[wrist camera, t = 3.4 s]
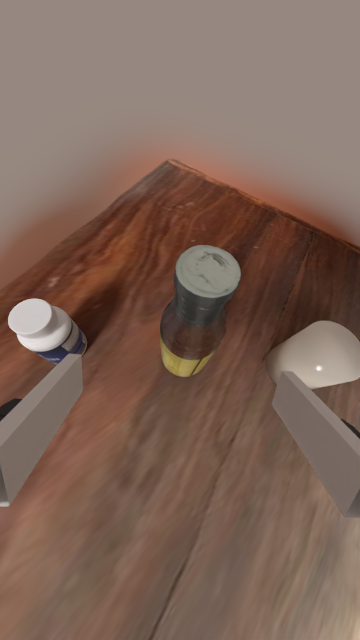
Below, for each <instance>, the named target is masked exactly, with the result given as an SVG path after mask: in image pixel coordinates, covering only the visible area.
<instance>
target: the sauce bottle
mask: <svg viewBox="0 0 360 640" xmlns="http://www.w3.org/2000/svg"><path fill="white" fill-rule="evenodd" d="M240 278H241V271H240V267H239V265H238V262H237V261H236V260H235V258H234V257H233V256H232V255H231V254H230V253H228V252H226V251H224V250H222V249H220V248H217V247H213V246H209V245H198V246H194V247H191V248H189V249H188V250H186V251H185V252H184V253H182V254H181V255H180V257H179V258H178V260H177V263H176V266H175V273H174V284H175V288H176V293H175V296H174V299H173V300H172V301H171V302H170V303H169V304H168V305H167V307H166V308H165V310H164V312H163V314H162V318H161V324H160V340H161V352H162V360H163V363H164V365H165V367H166V368H167V369H168V370H169V371H170V372H171V373H172V374H173V375H175V376H180V377H190V376H193V375H194V374H196V373H198V372H199V371H200V370H201V369H202V368H203V367H204V365H205V364H206V363H207V361H208V360H209V358H210V357H211V356H212V354H213V353H214V351H215V350H216V349H217V347H218V346H219V344H220V341H221V340H222V338H223V337H224V334H225V331H226V315H227V311H226V309H225V307H224V306H225V304H226V302H227V301H228V300H230V299H231V298H232V297H233V295H234V294H235V292H236V290H237V287H238V285H239V283H240Z"/></svg>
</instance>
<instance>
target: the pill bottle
mask: <svg viewBox="0 0 360 640" xmlns="http://www.w3.org/2000/svg"><path fill="white" fill-rule="evenodd" d="M8 324H9V326H10V328H11V329H12V330H13V331H14V332H16V333H17V337H18V339H19V341H20V343H21V344H22V345H23V346H25V347H26V348H27V349H29V350H31V351H33V352H35V353H36V354H38V355H40V356H42V357H43V358H45V359H47V360H49V361H51V362H53V363H55V364H59V363H60V362H61V361H62V360H63V359H64V358H65V357H66V356H67V355H68V354H80V355H81V356H82V355H83V354H84V352H85V350H86V347H87V340H86V337H85V335H84V334H83V332H82V331H81V330H80V329H79V327H78V326H77V325H76V324H75V323H74V321H73V320H72V319H71V318H70V317H69V315H68V314H67V313H66V312H65V311H63V310H62V309H60V308H58V307H55V306H51V305H50V304H49V303H47V302H46V301H44V300H41V299H28V300H25V301H23V302H21V303H19V304H18V305H16V306H15V307H14V308H13V309H12V311H11V312H10V314H9V317H8Z"/></svg>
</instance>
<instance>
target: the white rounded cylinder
mask: <svg viewBox="0 0 360 640" xmlns="http://www.w3.org/2000/svg"><path fill="white" fill-rule="evenodd" d="M266 367H267V371H268V374H269V376H270V378H271V379H272V380H273V382H274V383H275V384H276V385H277V384H278V381H279V378H280V374H281V371H293V372H294V373H295V374H296V375H297V376H298V377H299V378H300V379H301V380H302V381H303V382H304V383H305V385H306V386H307V387H308V388H309V389H310V390H311V389H316V388H320V387H325V386H330V385H335V384H340V383H345V382H350V381H353V380H356V379H358V378H359V377H360V342H359V340H358V339H357V338H356V337H355V336H354V335H353V334H352V333H351V332H350V331H349V330H348V329H346V328H345V327H343V326H341V325H340V324H337V323H335V322H331V321H317V322H315V323H313V324H311V325H310V326H308V327H306V328H305V329H303V330H302V331H300V332H298V333H297V334H295V335H294V336H292V337H290V338H289V339H287V340H286V341H284V342H282V343H281V344H279V345H278V346H276V347H274V348H273V349H272V350H271V351H270V352H269V353H268V355H267V359H266Z"/></svg>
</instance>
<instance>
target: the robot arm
mask: <svg viewBox="0 0 360 640" xmlns="http://www.w3.org/2000/svg"><path fill="white" fill-rule="evenodd" d="M82 392H83V384H82V360H81V355H80V354H68V355H67V356H66V357H65V358H64V359H63V360H62V361H61V362H60V363H59V364H58V365H57V366H56V367H55V368H54V369H53V370H52V371H51V372H50V373H49V374H48V375H47V376H46V377H45V378H44V379H43V380H42V381H41V382H40V383H39V384H38V385H37V386H36V387H35V388H34V389H33V390H32V391H31V392H30V393H29V394H28V395H27V396H26V397H25V398H24V399H15V398H14V399H13V400H11V401H9V402H7V403H6V404H4V405H2V406H1V407H0V506H10V505H11V503H12V502H13V500H14V499H15V497H16V495H17V494H18V492H19V491H20V489H21V488H22V486H23V484H24V483H25V481H26V480H27V478H28V477H29V475H30V473H31V472H32V470H33V469H34V467H35V466H36V464H37V462H38V461H39V459H40V458H41V456H42V455H43V453H44V451H45V450H46V448H47V447H48V445H49V444H50V442H51V440H52V439H53V437H54V436H55V434H56V433H57V431H58V429H59V428H60V426H61V425H62V423H63V422H64V420H65V418H66V417H67V415H68V414H69V412H70V411H71V409H72V407H73V406H74V404H75V403H76V401H77V400H78V398H79V396H80V395H81V393H82ZM272 406H273V407H274V409H275V410H276V412H277V413H278V415H279V417H280V418H281V420H282V421H283V423H284V424H285V426H286V427H287V429H288V431H289V432H290V434H291V435H292V437H293V438H294V440H295V441H296V443H297V444H298V446H299V448H300V449H301V451H302V452H303V454H304V455H305V457H306V458H307V460H308V462H309V463H310V465H311V466H312V468H313V469H314V471H315V472H316V474H317V475H318V477H319V479H320V480H321V482H322V483H323V485H324V486H325V488H326V489H327V491H328V493H329V494H330V496H331V497H332V499H333V500H334V502H335V503H336V505H337V506H338V508H339V510H340V511H341V513H342V514H343V516H344V517H360V433H359V432H358V431H357V430H356V429H355V428H354V427H353V426H352V425H350V424H349V423H347V422H346V421H344V420H343V419H339V418H338V417H337V416H336V415H335V414H334V413H333V412H332V411H331V410H330V409H329V408H328V407H327V406H326V405H325V404H324V403H323V402H322V401H321V400H320V399H319V398H318V397H317V396H316V395H315V394H314V393H313V392H312V391H311V390H310V389H309V388H308V387H307V386H306V385H305V383H304V382H303V381H302V380H301V379H300V378H299V377H298V376H297V375H296V374H295V373H294V372H293V371H281V374H280V378H279V381H278V384H277V388H276V391H275V394H274V398H273V401H272Z"/></svg>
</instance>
